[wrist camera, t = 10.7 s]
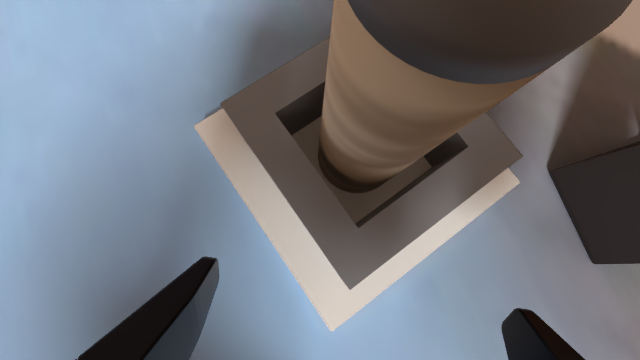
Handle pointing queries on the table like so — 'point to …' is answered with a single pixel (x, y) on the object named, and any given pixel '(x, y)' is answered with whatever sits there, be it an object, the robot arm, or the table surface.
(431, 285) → the table surface
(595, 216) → the phone stand
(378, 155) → the rail post
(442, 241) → the post socket
